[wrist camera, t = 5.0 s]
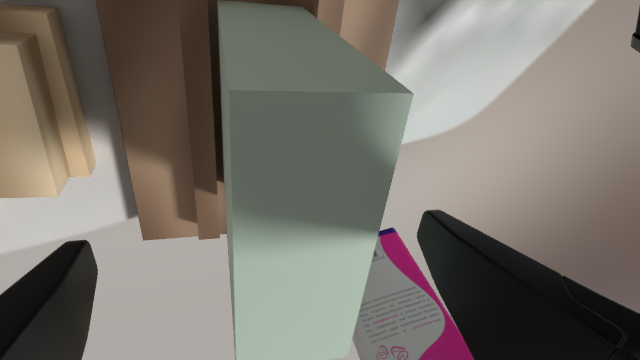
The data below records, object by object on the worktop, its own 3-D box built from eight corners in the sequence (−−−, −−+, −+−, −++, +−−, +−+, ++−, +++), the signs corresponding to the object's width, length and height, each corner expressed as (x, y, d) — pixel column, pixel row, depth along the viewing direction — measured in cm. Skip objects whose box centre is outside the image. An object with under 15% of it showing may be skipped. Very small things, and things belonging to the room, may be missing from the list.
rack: (405, -78, 18) (430, -80, 16) (349, 214, 27) (361, 237, 25) (77, -130, 14) (56, -140, 12) (145, 229, 24) (139, 257, 22)
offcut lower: (61, 5, 17) (46, 13, 15) (98, 157, 21) (90, 176, 20) (-75, -4, 16) (-107, 3, 14) (-6, 160, 20) (-25, 180, 18)
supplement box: (334, 292, 32) (385, 438, 23) (325, 244, 29) (381, 393, 19) (396, 274, 33) (470, 407, 24) (395, 225, 29) (481, 359, 20)
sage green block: (302, 7, 18) (413, 93, 8) (289, 180, 23) (348, 356, 14) (216, 0, 17) (229, 89, 7) (224, 182, 22) (236, 376, 12)
